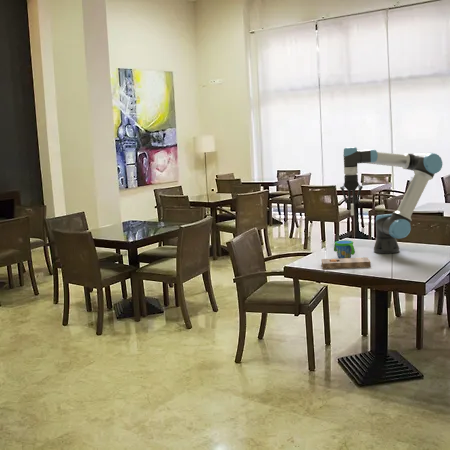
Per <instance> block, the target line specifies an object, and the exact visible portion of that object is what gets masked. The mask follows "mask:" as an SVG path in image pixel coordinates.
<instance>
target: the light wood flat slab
mask: <svg viewBox="0 0 450 450" xmlns="http://www.w3.org/2000/svg"><path fill="white" fill-rule="evenodd" d="M332 259H333V258H321V266H322V269H323V270H325V269H328V270H329V269H349V268H350V269H353V268H354V269H355V268H371V265H372V264H371V262H372V261H371V260H370V259H369V257H368V256H367V257H364V256H363V257H351V258H338V257H337V258H334V259H335V260H337V262H330V261H331V260H332Z"/></svg>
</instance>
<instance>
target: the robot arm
mask: <svg viewBox="0 0 450 450" xmlns="http://www.w3.org/2000/svg"><path fill="white" fill-rule="evenodd" d="M358 164H370V165H376V166H377V165H378V166H387V167H388V166H389V167H396V168H397V167H398V168H402V169H403V170H409V171H413V173H414V175H413V176H412V179H411V181H410V183H409V186H408V187H407V190H406V192H405V193H404V195H403V198H402V200H401V202H400V204H399V206H398V207H397V210H395V211H393V212H392V213H387V214H378V215H376V217H375V232H376V239H375V243H374V245H373V246H374V247H373V252H374V253H377V254H395V253H399V252H400V246H399V243H398V240H397V239H399V240H400V239H404V238H407V236H408V235H410V232H411V230H412V227H411V223H412V221H413V220H412V215H413V213H414V210H415V209H416V207H417V205H418V203H419V201H420V198H421V196H422V195H423V193H424V190H425V189H426V187H427V184H428V182H429V181H430V180H433V178H434V176H435V174H438V173H439V172H440V171H441V170H442V168H443V160H442V157H441V156H440V155H439V154H437V153H434V152H416V153H404V154H400V153H393V152H392V153H390V152H384V151H383V152H382V151H381V152H380V151H377V150H376V149H373V148H372V149H371V148H369V149H358V148H357V147H356V146H351V147H345V148H344V149H343V173H344V177H343V178H344V183H343V185H342V186H340V188H339V189H340V190H341V192H342V196H343V200H344V203H345V204H347V205H348V210H350V216H355V213H354V212H355V211H354V210H356V209H357V208H356V204H358V203H359V202H360V197H361V192H362V189H363V185H360V183H359V175H358ZM357 188H358V191H357ZM345 189H346V190H347V193H348V194H347V195H346V192H345ZM356 191H357V194H356ZM351 192H352V195H351ZM356 195H357V196H356ZM351 197H352V198H351Z"/></svg>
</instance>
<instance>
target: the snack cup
mask: <svg viewBox="0 0 450 450" xmlns="http://www.w3.org/2000/svg"><path fill="white" fill-rule="evenodd" d="M333 251H334V252H336V255H337V258H352V256H354V255H356V254H355V253H356V251H355V246H354V241H352V240H348V239H347V240H344V239H343V240H336V241H334V245H333Z"/></svg>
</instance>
